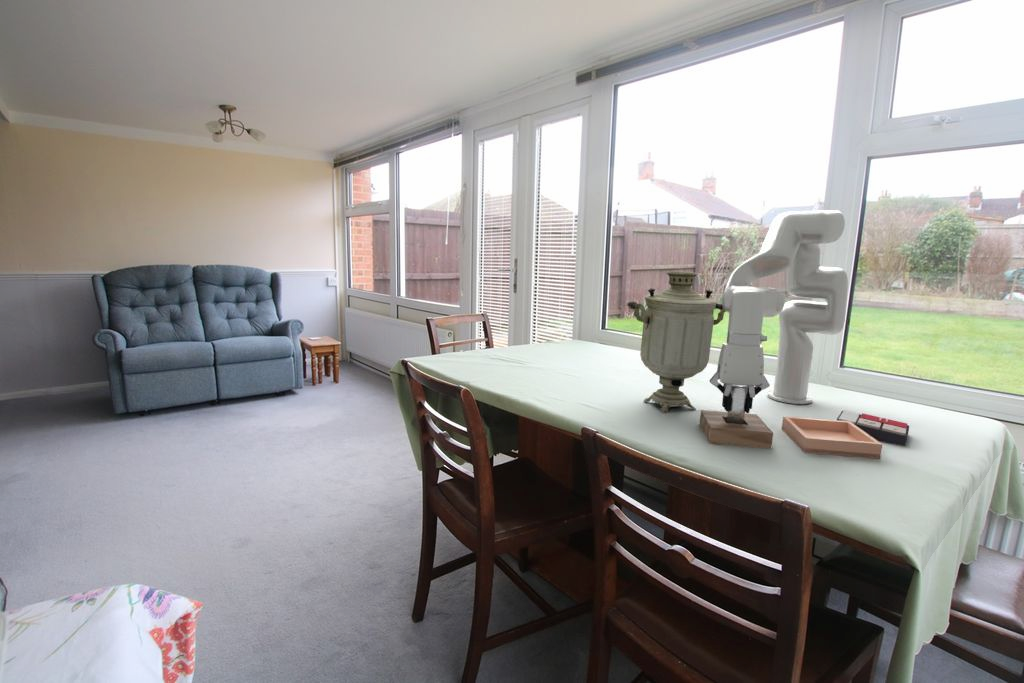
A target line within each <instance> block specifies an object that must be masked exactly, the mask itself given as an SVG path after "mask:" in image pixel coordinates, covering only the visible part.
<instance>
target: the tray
mask: <svg viewBox="0 0 1024 683" xmlns="http://www.w3.org/2000/svg"><path fill="white" fill-rule="evenodd" d="M781 422H782V424H781V430H782V431H783V432H784V433H785V434H786V435H787V437H789V438H790V440H791V441H793V442H794V444H796V445H797V447H798V448H799V449H801V451H802V452H803V453H811V454H822V455H831V454H832V455H831V456H842V457H844V456H845V457H854V456H855V457H854V458H857V457H858V458H867V459H878V460H880V459H881V456H882V449H883V443H882V442H881V441H877V440H876V439H874V438H873V437H871V436H870V435H869V434H867V433H866V432H864V431H863V430H861V429H860V428H859V427H857V426H856V425H854V424H853V423H851V422H850V421H838V420H836V419H824V418H821V419H820V418H810V417H808V418H807V417H798V416H797V417H796V416H795V417H794V416H784V415H783V416H782V421H781Z"/></svg>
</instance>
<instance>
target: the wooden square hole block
mask: <svg viewBox="0 0 1024 683" xmlns="http://www.w3.org/2000/svg"><path fill="white" fill-rule="evenodd" d="M727 413H728V412H726V411H717V410H706V409H705V410H704V409H701V410H700V417H699V425H700V427H701V429H702V432H703V433H704V436H705V437H706V439H707V441H708V443H709V444H713V445H714V444H715V445H727V446H736V447H738V446H739V447H750V448H760V449H770V450H771V449H772V448H773V438H774V432H773V430H772V429H770V427H769V426H768V425H767V424H766V423H765V422H764V421H763V420H762V418H761V417H760V416H759V415H758V414H756V413H746V412H745V417H744V425H743V424H731V423H727Z"/></svg>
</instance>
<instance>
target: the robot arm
mask: <svg viewBox="0 0 1024 683" xmlns="http://www.w3.org/2000/svg"><path fill="white" fill-rule="evenodd" d="M845 225H846V221H845V216H844V215H843V213H842V211H840V210H801V211H800V210H799V211H786V212H782V213H779V214H778V215H777V216H775V217H774V219H773V220H772V223H771V224H770V226H769V230H768V232H767V234H766V236H765V238H764V241H763V243H762V246H761V247H760V248H761V249H760V250H759V253H757V254H755V255H754V256H752V257H750V258H748V259H747V260H745V261H744V262H742V263H741V264H740V265H738V266H737V267H736V268H735V269H734V271H733V272H732V273H731V275H730V276H729V278H728V281H727V282H726V286H725V288H724V291H723V294H722V298H721V304H722V306H723V308H724V310H725V311H726V312H727V313H728V314H729V315H728V325H727V334H726V335H727V336H726V342H723V343H722V346H721V349H720V353H719V356H718V362H717V368H716V372H715V373H714V374H713V376H712V377H711V378H710V379H709V383H710V384H711V385H713V386H714V387H716V388H717V389H718V390H719V391H720V392H721V393H722V403H721V407H722V408H723V410H725V412H729V411H730V403H731V396H730V390H731V387H732V385H744V386H747V387H748V389H747V398H746V408H745V413H747V414H750V410H752V409H753V402H754V398H755V397H756V396H757V395H758V394H759V393H760V392H762V391H763V390H766V389H768V388H769V387H770V386H771V385H770V383H769V381H768V379H767V377H766V376H765V374H764V373H765V372H764V371H765V359H764V358H765V357H764V347H763V345H762V343H764V342H767V341H768V336H767V335H764V334H763V333H762V329H763V323H764V322H763V321H764V318H774V317H776V316H778V321H779V341H778V348H777V349H778V350H777V358H776V367H775V374H774V375H775V376H774V384H773V389H772V390H769V391H768V392H767V397H768V398H770V399H772V400H775V401H778V402H781V403H784V404H785V403H786V404H792V405H807V404H811V403H812V402H813V397H812V396H810V395H809V394H808V391H809V384H810V375H811V370H812V369H811V368H812V360H813V352H814V346H813V342H812V340H811V339H810V337H809V336H808V334H807V333H810V334H811V333H812V334H820V335H831V336H832V335H837V334H840V333H841V332H842V330H843V328H844V325H845V322H846V313H847V311H846V310H847V300H848V288H849V277H848V274H847V272H846V271H845V270H844V269H843V268H840V267H833V266H832V267H831V266H821V264H820V263H821V262H820V260H821V249H820V246H819V245H818V244H820V245H821V244H831V243H835V242H836V241H838V240H839V239H840V238H841V236H843V232H844V230H845ZM784 271H786V279H785V280H786V282H785V287H786V292H787V294H788V295H789V296H791V297H795V298H802V299H803V298H804V299H817V300H825V301H826V302H819V301H812V300H790V301H786V299H785V296H784V294H783V292H782V291H781V290H780V289H778V288H775V287H768V286H757V285H755V286H753V285H748V284H750V283H752V282H753V281H756V280H758V279H762V278H765V277H768V276H772V275H775V274H778V273H779V274H780V273H781V272H784ZM726 312H725V313H726ZM719 381H720V382H719ZM721 383H722V384H721Z"/></svg>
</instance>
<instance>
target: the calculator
mask: <svg viewBox="0 0 1024 683" xmlns="http://www.w3.org/2000/svg"><path fill="white" fill-rule="evenodd" d="M835 420H838V421H850V422H851V423H853V424H854V425H856V426H857V427H859V428H860V429H861V430H863V431H864V432H866V433H867V434H869V435H870V436H871V437H873V438H874V439H876V440H877V441H878V442H881V443H882V442H883V443H888V444H892V445H896V446H897V445H898V446H900V447H901V446H902V447H906V444H907V440H908V436H909V431H910V425H908V423H907V422H903V421H898V420H893V419H889V418H885V417H880V416H876V415H871V414H867V413H860V412H856V411H850V410H847V409H844V410H842V411H840V413H839V415H838V416H837V418H836V419H835Z"/></svg>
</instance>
